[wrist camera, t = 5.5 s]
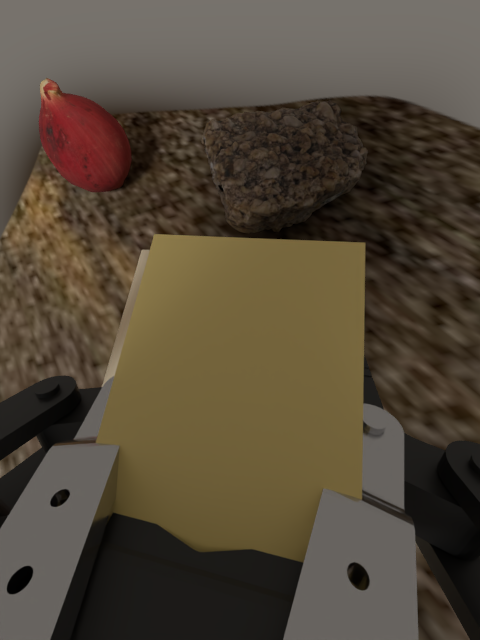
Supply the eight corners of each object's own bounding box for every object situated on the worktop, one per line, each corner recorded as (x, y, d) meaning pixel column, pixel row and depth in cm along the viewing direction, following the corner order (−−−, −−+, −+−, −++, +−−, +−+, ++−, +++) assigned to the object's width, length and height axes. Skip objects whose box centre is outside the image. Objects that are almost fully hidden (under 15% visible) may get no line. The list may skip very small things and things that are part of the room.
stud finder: (312, 343, 14) (365, 242, 5) (303, 473, 12) (359, 649, 3) (229, 334, 14) (154, 234, 6) (209, 454, 13) (63, 557, 4)
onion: (124, 221, 22) (44, 127, 15) (76, 202, 24) (-20, 108, 16) (160, 170, 23) (102, 58, 16) (111, 155, 25) (37, 46, 17)
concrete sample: (225, 257, 20) (208, 210, 15) (209, 159, 23) (191, 95, 18) (380, 222, 19) (415, 161, 14) (341, 125, 22) (357, 48, 17)
